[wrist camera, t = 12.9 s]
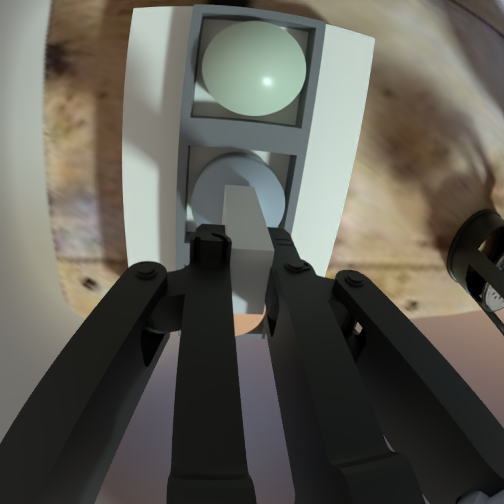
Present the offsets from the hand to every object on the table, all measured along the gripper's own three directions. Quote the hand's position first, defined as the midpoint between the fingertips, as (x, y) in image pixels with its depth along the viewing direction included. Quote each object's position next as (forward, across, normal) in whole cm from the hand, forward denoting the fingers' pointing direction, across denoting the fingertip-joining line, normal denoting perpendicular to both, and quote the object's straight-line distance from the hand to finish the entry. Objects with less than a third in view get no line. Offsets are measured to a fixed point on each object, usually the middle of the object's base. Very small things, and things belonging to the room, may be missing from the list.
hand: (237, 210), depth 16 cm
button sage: (+2, 0, +7) cm, 8 cm away
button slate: (+2, 0, 0) cm, 2 cm away
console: (+7, 0, 0) cm, 7 cm away
